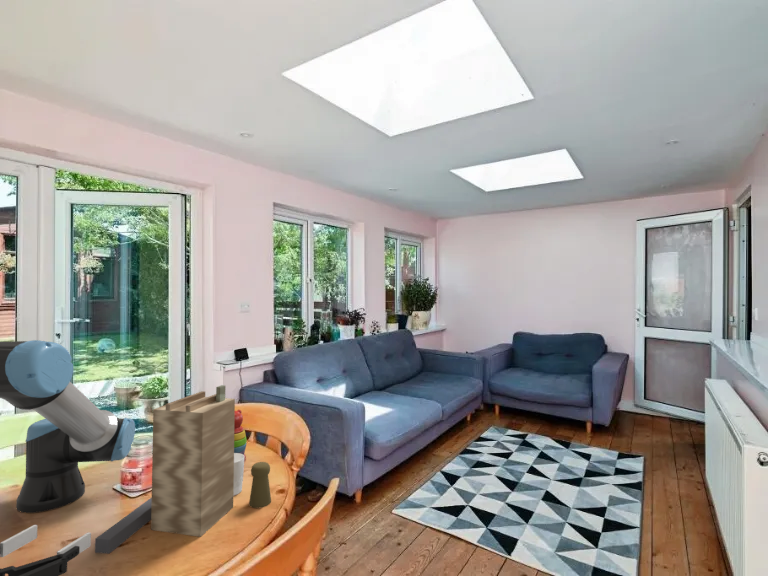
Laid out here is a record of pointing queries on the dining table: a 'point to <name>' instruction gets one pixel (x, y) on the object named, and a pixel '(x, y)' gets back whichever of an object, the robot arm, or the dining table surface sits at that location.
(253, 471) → the olive pawn
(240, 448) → the stacking bear
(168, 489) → the tall wooden block
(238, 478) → the white cup
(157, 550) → the dining table surface
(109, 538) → the bar
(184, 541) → the dining table surface
